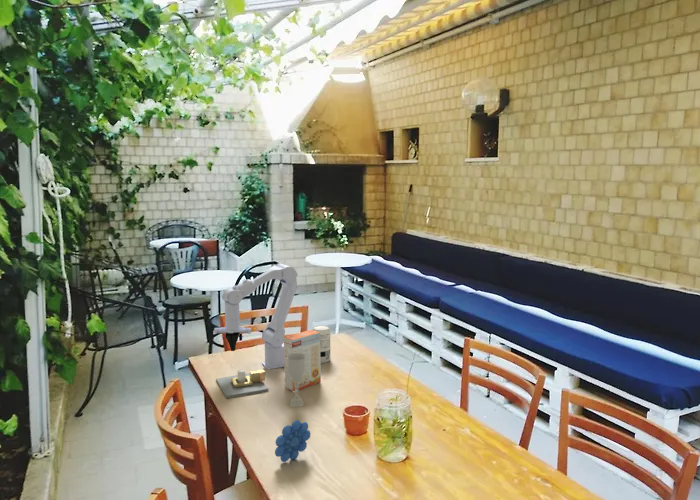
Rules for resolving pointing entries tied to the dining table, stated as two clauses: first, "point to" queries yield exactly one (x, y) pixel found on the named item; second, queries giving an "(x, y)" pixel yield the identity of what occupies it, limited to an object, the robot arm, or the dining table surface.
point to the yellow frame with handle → (249, 379)
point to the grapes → (292, 441)
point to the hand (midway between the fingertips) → (233, 350)
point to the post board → (233, 391)
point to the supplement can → (324, 342)
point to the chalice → (296, 374)
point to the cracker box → (311, 348)
